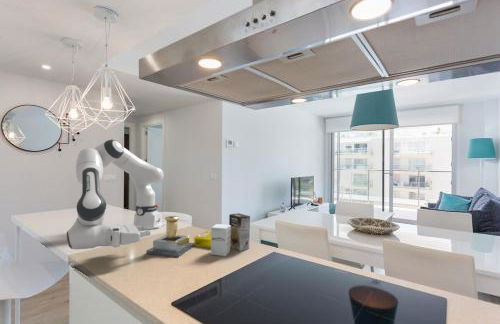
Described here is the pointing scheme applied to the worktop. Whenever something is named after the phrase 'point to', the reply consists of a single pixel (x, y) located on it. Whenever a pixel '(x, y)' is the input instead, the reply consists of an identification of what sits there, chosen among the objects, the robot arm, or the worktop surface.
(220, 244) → the supplement box
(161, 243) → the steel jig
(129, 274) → the worktop surface
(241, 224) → the coffee box
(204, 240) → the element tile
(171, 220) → the brass bushing
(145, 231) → the robot arm
